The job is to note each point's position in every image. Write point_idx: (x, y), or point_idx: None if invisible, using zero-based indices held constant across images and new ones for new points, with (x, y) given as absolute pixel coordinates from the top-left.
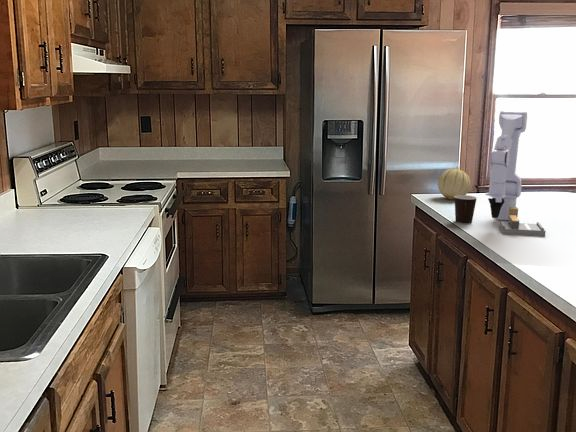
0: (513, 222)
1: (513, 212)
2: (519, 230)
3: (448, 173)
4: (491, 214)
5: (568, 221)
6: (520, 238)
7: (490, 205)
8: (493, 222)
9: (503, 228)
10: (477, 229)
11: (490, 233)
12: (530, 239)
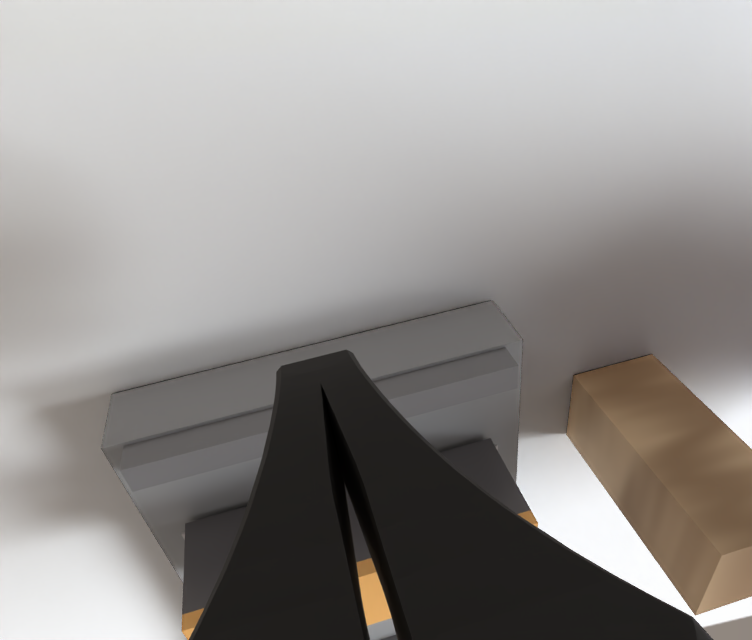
0: (187, 605)
1: (670, 534)
2: (178, 567)
3: None
4: (331, 382)
5: (736, 611)
6: (10, 562)
7: (385, 551)
8: (743, 206)
9: (126, 449)
10: (227, 6)
11: (38, 255)
12: (36, 619)
